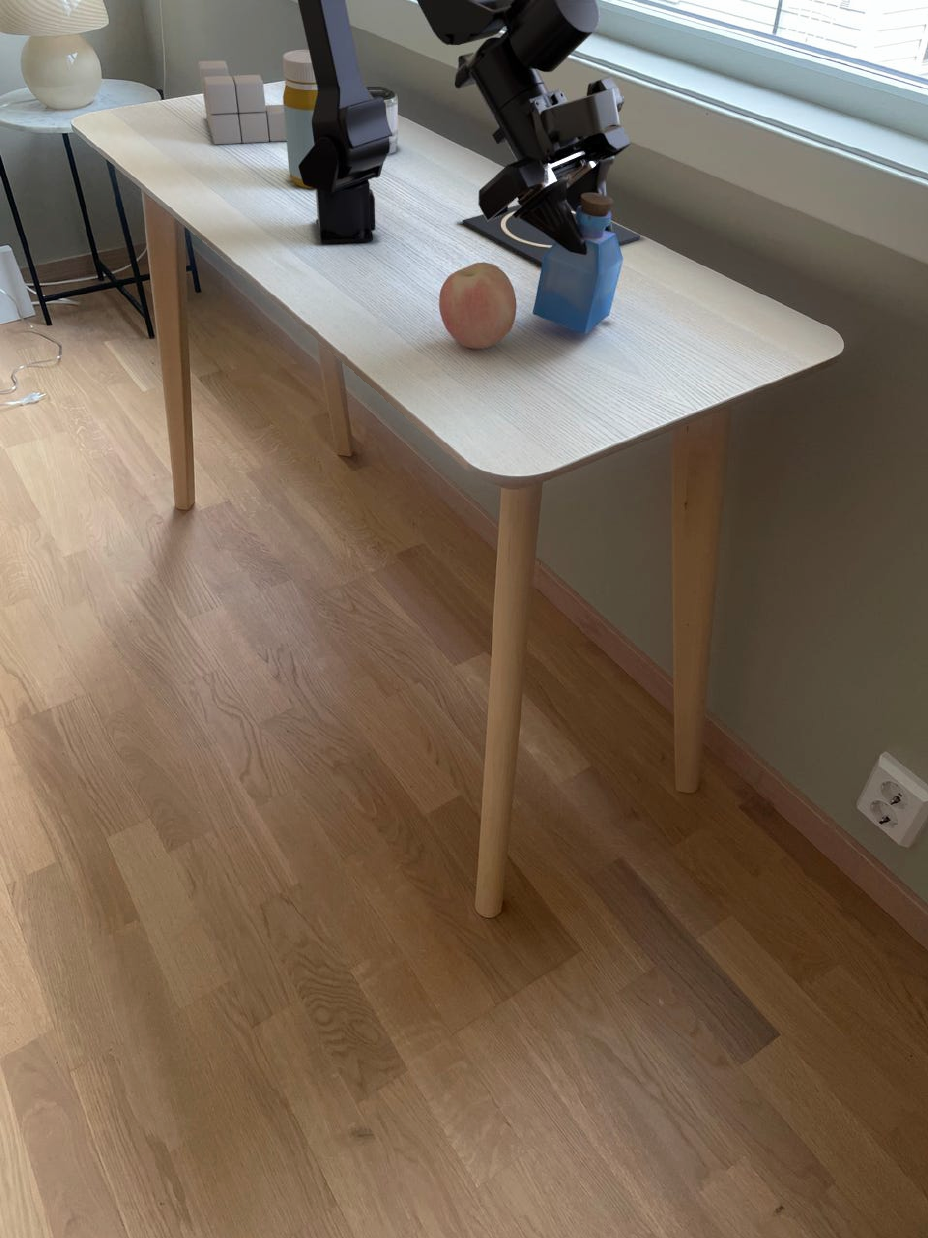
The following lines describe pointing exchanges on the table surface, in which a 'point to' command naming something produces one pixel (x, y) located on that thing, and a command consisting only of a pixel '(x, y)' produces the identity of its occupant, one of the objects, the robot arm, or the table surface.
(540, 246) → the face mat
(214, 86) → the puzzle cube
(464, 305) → the apple
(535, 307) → the perfume bottle
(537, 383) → the table surface
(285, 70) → the bottle
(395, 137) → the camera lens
